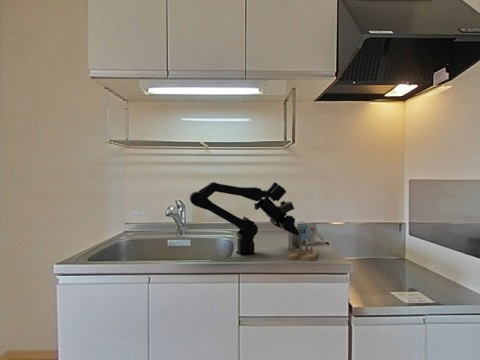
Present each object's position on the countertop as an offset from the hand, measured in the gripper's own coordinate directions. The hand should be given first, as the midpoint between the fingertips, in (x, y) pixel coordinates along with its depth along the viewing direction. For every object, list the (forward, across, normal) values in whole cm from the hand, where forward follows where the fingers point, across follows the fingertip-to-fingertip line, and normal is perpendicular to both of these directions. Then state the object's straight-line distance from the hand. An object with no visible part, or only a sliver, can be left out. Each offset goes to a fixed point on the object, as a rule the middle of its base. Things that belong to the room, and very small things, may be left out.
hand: (294, 233), depth 164 cm
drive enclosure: (+6, 0, +6) cm, 8 cm away
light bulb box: (+12, +13, -1) cm, 18 cm away
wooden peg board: (+5, -12, +6) cm, 14 cm away
